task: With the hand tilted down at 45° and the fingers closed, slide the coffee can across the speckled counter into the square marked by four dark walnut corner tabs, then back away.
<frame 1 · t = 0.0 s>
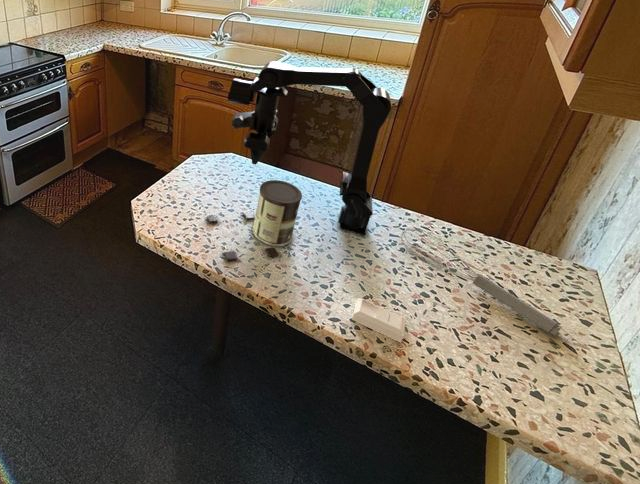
hand: (257, 156, 117), 15 cm above the countertop, tool pointing down, fingers open, 9 cm apart
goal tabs: (240, 236, 108), on the countertop
kitchen whisk: (470, 284, 94), on the countertop
coffee can: (271, 233, 109), on the countertop
soap bar: (376, 322, 85), on the countertop
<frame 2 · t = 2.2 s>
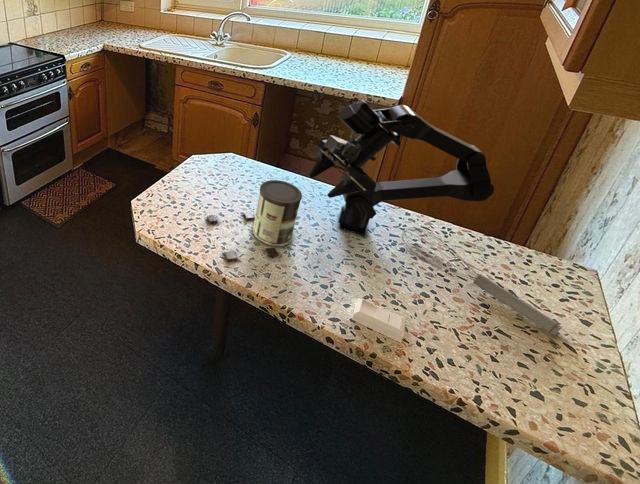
hand: (318, 186, 104), 14 cm above the countertop, tool tilted 40°, fingers open, 9 cm apart
nothing on the countertop moved.
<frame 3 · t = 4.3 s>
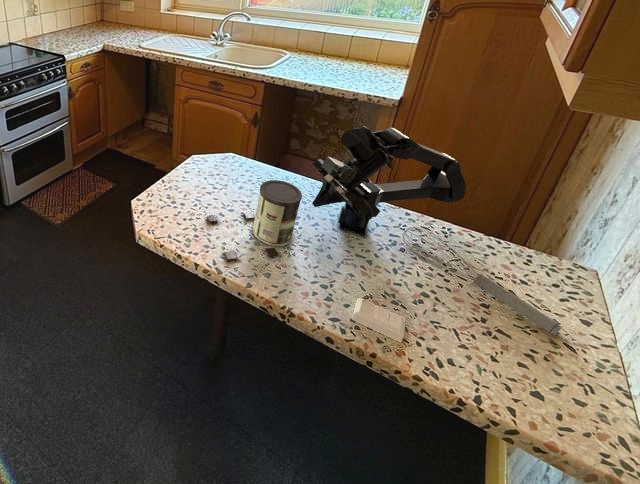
hand: (313, 205, 107), 8 cm above the countertop, tool tilted 45°, fingers closed
nothing on the countertop moved.
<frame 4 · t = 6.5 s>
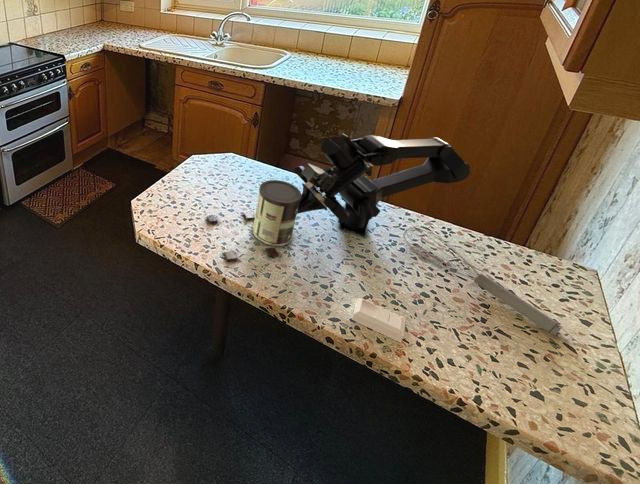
hand: (293, 212, 107), 7 cm above the countertop, tool tilted 45°, fingers closed
coffee can: (271, 233, 109), on the countertop, touching gripper
everything else where it was.
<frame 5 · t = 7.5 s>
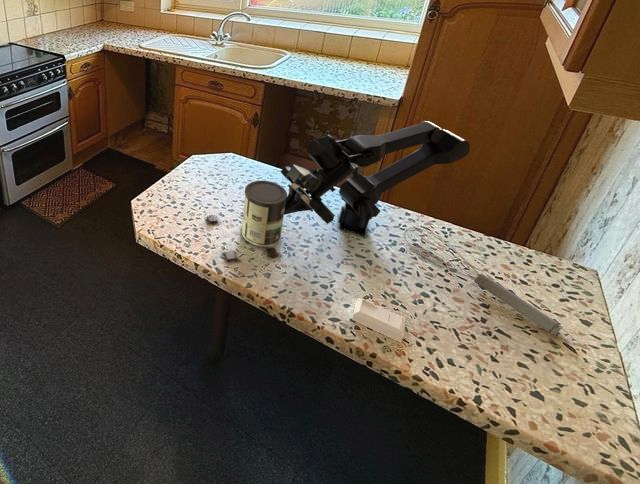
hand: (279, 213, 106), 7 cm above the countertop, tool tilted 45°, fingers closed
coffee can: (260, 234, 108), on the countertop, touching gripper
everything else where it was.
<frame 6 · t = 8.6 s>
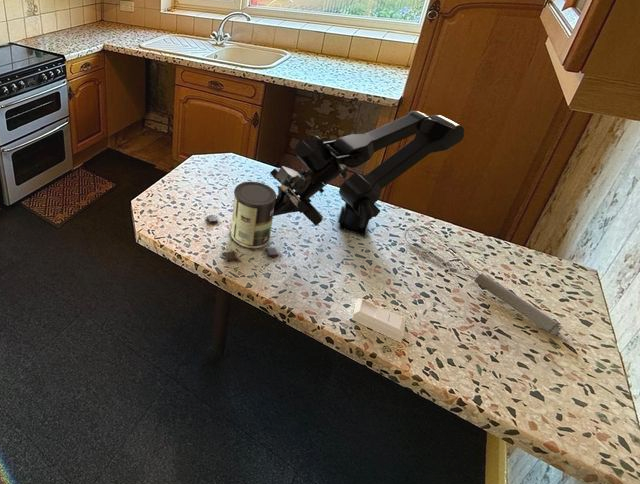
hand: (269, 214, 106), 6 cm above the countertop, tool tilted 45°, fingers closed
coffee can: (249, 235, 108), on the countertop, touching gripper
everything else where it was.
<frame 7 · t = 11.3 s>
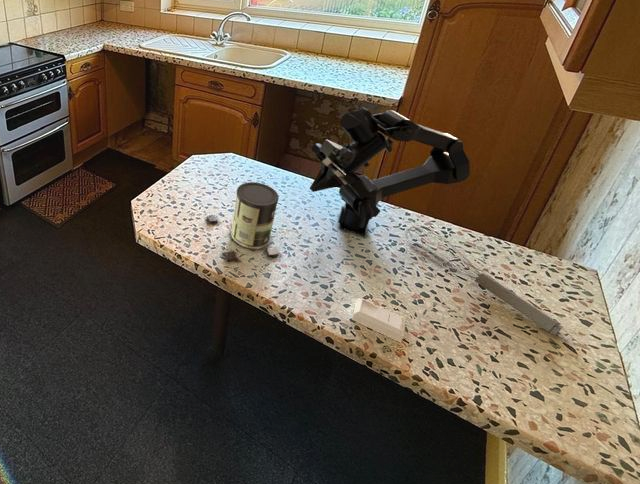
hand: (311, 190, 104), 14 cm above the countertop, tool tilted 45°, fingers closed
coffee can: (249, 236, 108), on the countertop
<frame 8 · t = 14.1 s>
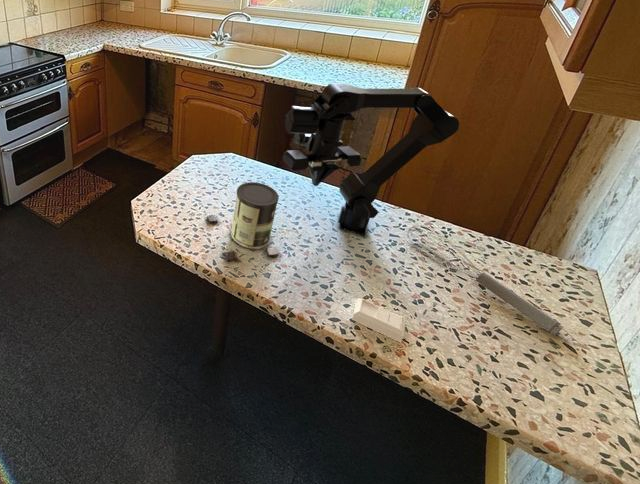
hand: (314, 185, 107), 13 cm above the countertop, tool pointing down, fingers closed
at the end: coffee can inside the target area (2.6 cm from its centre), on the countertop; coffee can tilted 0°; coffee can moved 6.4 cm from its start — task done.
